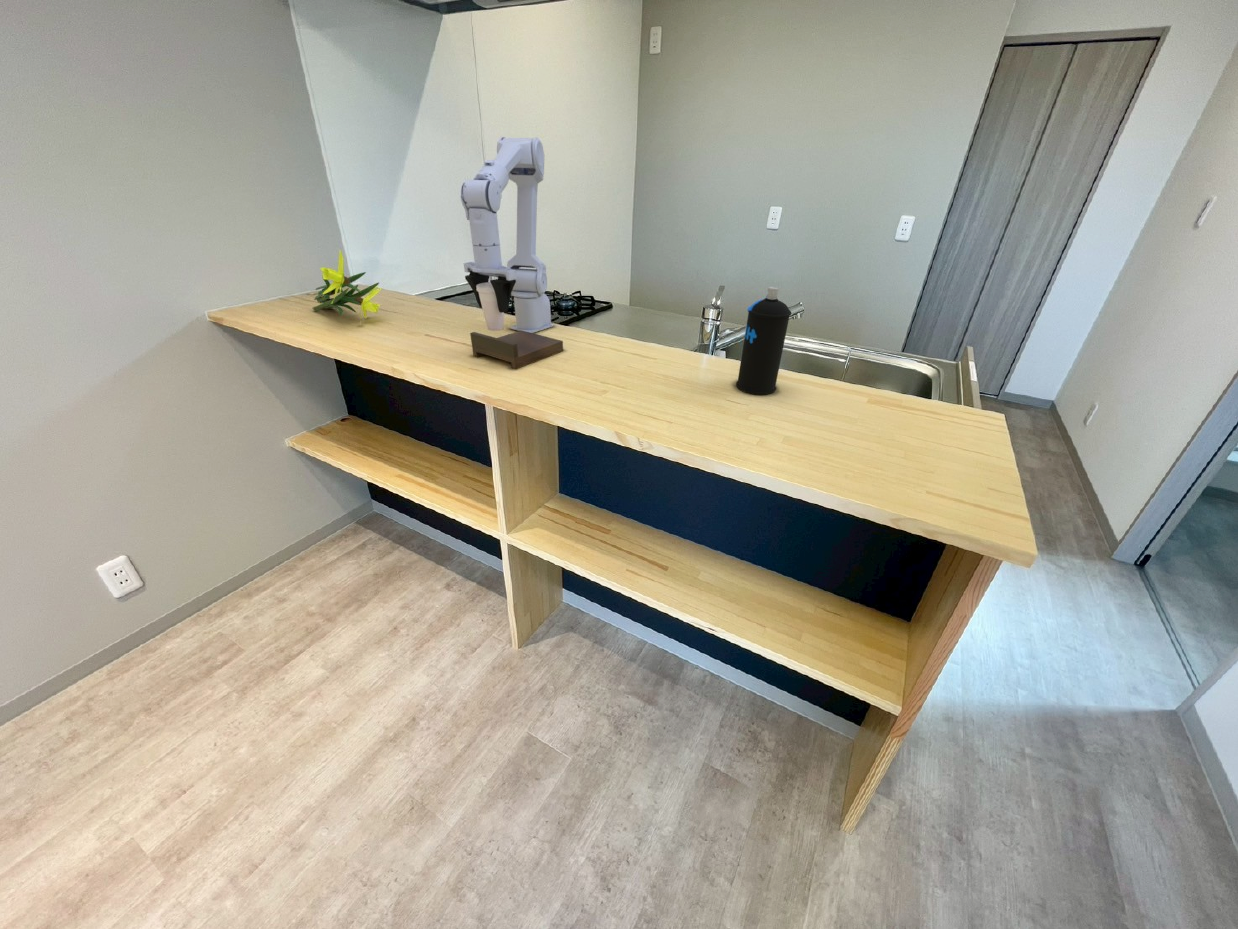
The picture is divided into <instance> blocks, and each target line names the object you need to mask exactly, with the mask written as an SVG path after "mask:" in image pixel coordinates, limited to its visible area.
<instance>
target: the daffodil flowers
mask: <svg viewBox="0 0 1238 929" xmlns="http://www.w3.org/2000/svg"><path fill="white" fill-rule="evenodd" d="M344 266H345V265H344V255H343V253H342V250H341V249H339V251H338V266H337V269H338V270H335V269H333V268H329V267H323V266H322V267H321V266H320V267H319V270H320V271H321V272H322V273H321V274H322V275H321V276H322V279H323V281H324V283H325V284H324V285H321V286H318V287H316V288H315V289H314V290H315V291H318V290H319V291H318V292H317V295H316V296H315V297H314V301H316V302H317V303H318V305H316V306H313V307H312V308H311V309H312V310H313V311H319V310H322V309H323V310H324V309H332V308H334V309H337V310H338V312H339V314H340V316H341V317H343V315H344V310H343V308H345V309H348V310H350V311H352V312H353V313H356V314H357V311H356V310H355V309H354V308H353V307H352V306H350V305H349V303H350V304H354V305H356V306H357V305H358V306H360V315H361V316H363V317H364V319H367V316H368V315H367V312H372V313H375V314H377V313H378V312H379V309H380V306H381V304H379V303H375V302H372V301H370V300H372V299H373V298H374V297H375V296H377V294H378V293H379V292H381V290H382V289H383V288H382V287H380V288H378V286H379V284H380V282H375V283H374V284H372V285H370V286H368V287H366V288H364V289H362V290H360V289H358V287H359V284H357V285H354V284H352V283H354V282H356V281H358V280H359V279H360V278H362V277H363V276H364V275H365V274H366V273H367V272H366V271H364V272H360V273H356V274H354V275H351V276H345V271H344ZM330 281H332V282H330ZM345 287H348V288H346V289H344V290H343V289H342V288H345ZM349 289H350V290H349ZM355 292H356V293H355ZM367 294H368V295H367ZM333 295H334V297H332V298H331V297H330V296H333ZM366 295H367V296H366ZM364 296H365V297H364ZM341 307H343V308H341ZM361 319H362V318H360V320H359V321H360V322H359V323H360V324H359V326H361V323H362V322H361Z"/></svg>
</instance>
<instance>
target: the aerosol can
mask: <svg viewBox="0 0 1238 929" xmlns="http://www.w3.org/2000/svg"><path fill="white" fill-rule="evenodd" d="M779 290H780V288H779V287H777V286H768V287H767V294H766V297H765V298H763V299H759V300H757V301H755V302H753V303H752V304H751V305H750V306H749V307H748V308H747V319H746V325H745V332H744V337H743V338H744V339H743V345H742V351H741V358H740V363H739V370H738V376H737V381H736V383H735V387H736V388H737V389H738V390H739V391H740V392H743V393H746V394H750V395H755V396H763V395H764V396H767V395H771V394H774V393H775V392H776V391H777V380H778V375H779V370H780V366H781V360H782V356H783V351H784V346H785V341H786V337H787V336H786V335H787V331H788V325H789V322H790V321H789V320H790V317H791V315H792V311H791V310H790V308H789V307H788V305H787V304H786V303H785V302H783V301H781V300H779V299H778V295H779Z"/></svg>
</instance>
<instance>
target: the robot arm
mask: <svg viewBox="0 0 1238 929" xmlns="http://www.w3.org/2000/svg"><path fill="white" fill-rule="evenodd" d="M544 175H545V151H544V146H543V142H542V141H541V140H540V138H539V137H505V136H501V137H500V138H499V139H498V140H497V142H496V156H495V158H494V160H493V159H486V160H485V161H484V164H483V165H482V167H481V169H479V171H478V172H477V173H476V175H475V176H474V177H473V179H466V180H465V182H462V184H461V187H460V202H461V204H462V207H463V209H464V212H465V218H466V220H467V221H469V222H468V223H469V227H470V228H469V230H470V237H471V244H472V252H473V260H474V261H468V262H463V269H464V273H469V274H467V275H465V276H464V278H465V281H466V282H467V283H468V285H469V287H470V288H471V290H472V293H473V294H474V297H475V299H476V302H477V304H478V307H479V308H481V309H482V305H481V301H480V297H479V292H478V291H477V290H476V289H477V288H476V285H478V284H480V283H487V282H491V284H492V286H493V289H494V291H495V294H496V298H497V305H498V309H499V312H501V313H503V312H504V313H507V312H508V311H509V307H510V300H511V297H513V303H514V314H515V315H514V316H515V324H514V325H511V326H509V329H510V330H514V331H516V332H517V331H521V330H522V331H526V332H530V333H534V334H535V333H537V332H541V331H543V330H546V329H549V328H552V327H554V324H553V323H552V312H551V302H550V301H551V300H550V299H549V297H548V296H547V294H546V293H545V292H546V291H547V288H548V277H547V267H546V265H545V263H544V262H543V261H542V260H541V259H540V258H539V257H538V256H537V255H536V254H537V253H536V252H537V220H538V219H537V217H538V216H537V215H538V214H537V212H538V187H539V184H540V183H541V182H542V181H544ZM509 181H511V182H513V183H515V185H516V187H517V188H516V190H517V191H516V253H515V255H514V256H513V257H511V258H510V259H509V260H508V261H507V262H506V263H507V264H506V266H505V265H503V263H502V262H503V261H502V254H501V243H500V242H501V241H500V233H499V222H498V221H499V220H498V212H499V210H500V208H501V201H502V197H503V192H504V190H505V189H506V187H507V186H508V184H509ZM489 276H492V278H493V277H494V278H495V279H492V280H490V278H489Z"/></svg>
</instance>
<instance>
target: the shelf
mask: <svg viewBox="0 0 1238 929" xmlns="http://www.w3.org/2000/svg"><path fill="white" fill-rule="evenodd" d="M469 336H470V342H471V348H472V349H471V350H472V355H473V356H472V357H475V358H478V357H482V356H484V355H486V356H489V357H493V358H494V359H495V358H496V359H498V360H501V361H505V362H509V363H510V364H511V369H514V370H517V369H520V368H522V367H525V366H528V365H531V364H533V363H536V362H539V361H541V360H543V359H546V358H549V357H551V356H554V355H556V354H558V353H559V354H560V353H561V352H564V341H563V340H561V339H557V338H552V337H550V336H545V335H542V334H537V333H535V332H534V333H530V332H526V331H522V330H521V331H517V330H516V331H514V332H511V333H508V334H505V335H502V336H499V337H494V336H490V335H488V334H483V333H481V332H476V331H472V332H470V333H469Z"/></svg>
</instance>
